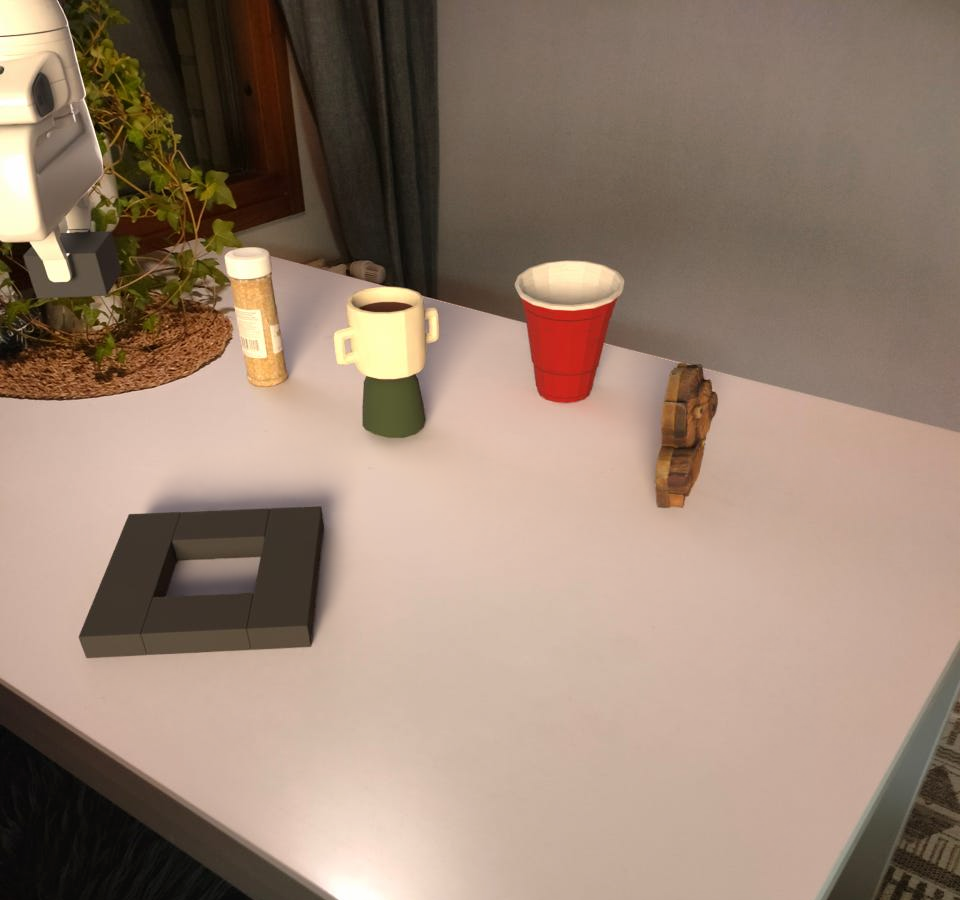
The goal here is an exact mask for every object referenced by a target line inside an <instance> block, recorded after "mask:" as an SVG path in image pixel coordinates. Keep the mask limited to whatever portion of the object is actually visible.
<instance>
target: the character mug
mask: <svg viewBox="0 0 960 900" xmlns="http://www.w3.org/2000/svg"><path fill="white" fill-rule="evenodd" d="M424 299H425V298H424V296H423V295H421V293H420V292H419V291H416V290H413V289H410V288H406V287H399V286H376V287H368V288H364V289H361V290H359V291H355V292H354V293H353V294H351V295H350V296H348V298H347V302H346V316H347V327H345V328H341V329H338V330H336V331H334V333H333V344H334V352H335V353H334V354H335V360H336V362H337V365H339V366H346V365H350V364H354V366H355V368H356V369H357V370H358V372H359V373H361V374H362V375H364V376H365V378H364V380H363V389H362V390H363V391H362V406H361V409H362V411H361V413H362V414H361V415H362V417H361V418H362V427H363V428H364V429H365V431H367V432H369V433H370V434H373V435H376V436H379V437H383V438H388V439H404V438H408V437H411V436H415V435H417V434H418V433H419V432H420V431H421V430H422V429H424V428H425V425H426V419H427V418H426V412H425V406H424V400H423V395H422V391H421V385H420V380H419V378H418V376H417V374H418V373H420V372H421V371H422V370H423V369H424V368H425V366H426V360H427V345H428V344H431V343H434V342H436V341H438V340H439V337H440V327H439V325H440V324H439V313H438V310H437V307H428V308H425V300H424ZM426 320H428V332H426ZM348 339H349V348H350V352H347V353H346V344H345V340H348Z"/></svg>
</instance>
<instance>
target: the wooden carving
mask: <svg viewBox="0 0 960 900" xmlns="http://www.w3.org/2000/svg"><path fill="white" fill-rule="evenodd" d="M704 376H705V375H704V368H703V365H702V364H701V363H697V364H688V363H686V362H678V363H677V364H676V367H674V368H673V369H672V370H671V371H670V373H669V377H668V380H667V383H666V391H665V395H664V401H663V403H662V409H661V419H660V423H661V424H660V433H661V446H660V449H659V452H658V456H657V459H656V466H655V473H654V485H655V486H654V488H655V499H656V500H655V502H656V507H657V508H658V509H670V508H680V509H683V508H684V506H685V501H686V497H689V496H690V494H691V491H692V489H693V487H694V486H695V484H696V482H697V480H698V478H699V475H700V471H701V467H702V463H703V462H702V461H703V458H704V451H705V446H706V440H707V435H708V434H709V432H710V430H711V425H712V422H713V419H714V417H715V416H716V414H717V409H718V404H719V398H718V394H717V391H713V382H712V380H711V379H710V378H708V379H706V378H705V377H704Z"/></svg>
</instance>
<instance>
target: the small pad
mask: <svg viewBox="0 0 960 900" xmlns="http://www.w3.org/2000/svg"><path fill="white" fill-rule="evenodd" d="M59 238H60V240H61V243H62V245H63V247H64V250H65V252H66V254H69V253H70V256H71V260H72V264H73V267H74V270H75V272H74V275H73V276H72V278H71V279H70V280H69V281H67V282H53V281H51V280H50V279H49V278H48V275H47V272H46V269H45V266H44V263H43V260H42V259H41V258H40V257H39V255H38V254H37V252H36V251H35V249H34V248H33V246H32V245H31V246H30V247H29V248H28V250H27V251H26V252H25V253H24V254H23V255H22V257H23V261H24V264H25V266H26V269H27V273H28V276H29V278H30V279H29V280H30V281H31V285H32V287H33V291H34V293H35V297H36V299H61V298H62V299H63V298H84V297H107V296H109V293H110V292H111V290H112V288H113V287H114V286H115V284H116V283H117V281H118V279H119V278H120V277H121V274H122V273H123V271H122V267H121V263H120V259H119V256H118V252H117V247H116V244H115V239H114V237H113V233H112V231H108V230H107V231H93V232H81V233H66V232H61V236H60V237H59Z"/></svg>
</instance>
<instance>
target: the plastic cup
mask: <svg viewBox="0 0 960 900" xmlns="http://www.w3.org/2000/svg"><path fill="white" fill-rule="evenodd" d="M625 281H626V280H625V279H624V278H623V276H622V275H621V273H620V272H619V271H617V270H615V269H613V268H611V267H609V266H608V265H604V264H602V263H597V262H592V261H587V260H571V259H570V260H569V259H565V260H556V261H547V262H543V263H540V264H536V265H534V266H531V267H529V268H527V269H525V270H524V271H523V272H521V273H519V274H518V275H517V278H516V280H515V282H514V287H515V290H516V293H517V294H518V295H519V297H520V301H521V304H522V308H523V313H524V314H525V322H526V330H527V336H528V342H529V351H530V358H531V362H532V365H533V374H534V381H535V382H534V383H535V386H536V389H537V393H538V394H539V396H540V397H542V398H543V399H545V400H546V401H547V400H548V401H550V402H554V403H562V404H563V403H564V404H569V403H578V402H580V401H583V400H585V399H587V398H588V397H589V396H590V395H591V391H592V390H593V386H594V382H595V378H596V373H597V370H598V368H599V364H600V362H601V357H602V353H603V349H604V346H605V341H606V338H607V337H606V336H607V332H608V328H609V325H610V321H611V318H612V315H613V313H614V309H615V307H616V304H617V303H616V302H617V300H618V299H619V296H621V295H622V293H623V291H624V286H625Z"/></svg>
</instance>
